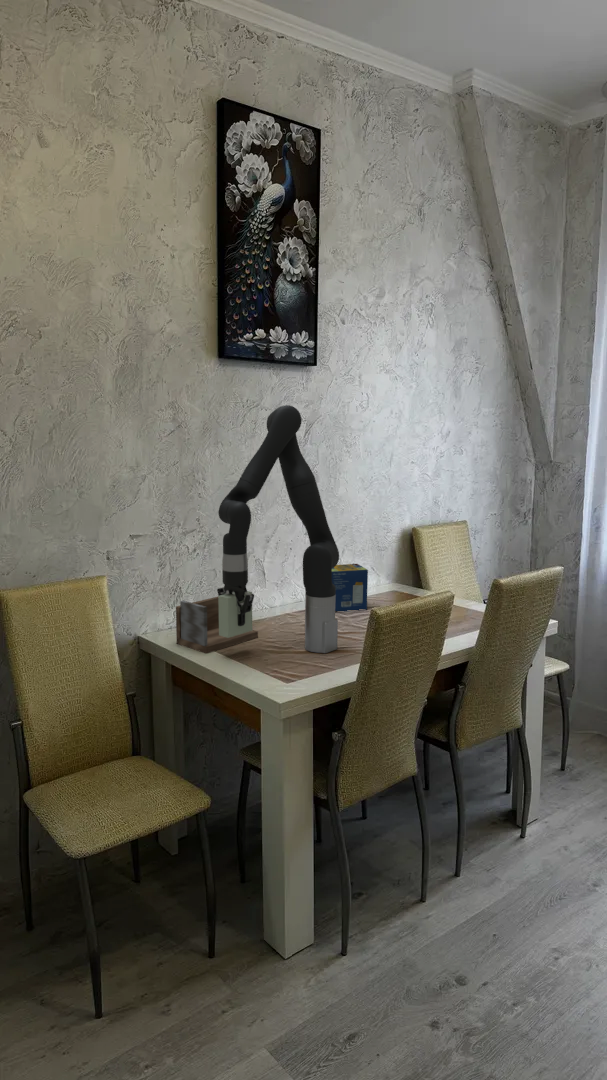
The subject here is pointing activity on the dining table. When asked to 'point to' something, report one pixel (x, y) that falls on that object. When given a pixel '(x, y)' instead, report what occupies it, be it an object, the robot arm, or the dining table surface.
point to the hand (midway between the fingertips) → (235, 623)
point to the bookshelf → (204, 627)
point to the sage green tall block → (232, 617)
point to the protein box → (350, 587)
